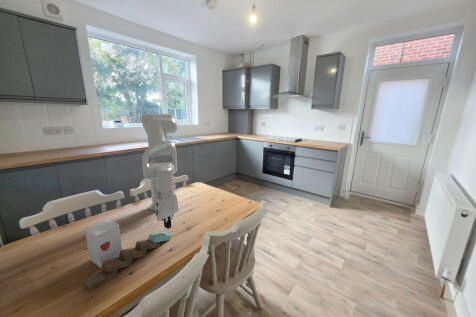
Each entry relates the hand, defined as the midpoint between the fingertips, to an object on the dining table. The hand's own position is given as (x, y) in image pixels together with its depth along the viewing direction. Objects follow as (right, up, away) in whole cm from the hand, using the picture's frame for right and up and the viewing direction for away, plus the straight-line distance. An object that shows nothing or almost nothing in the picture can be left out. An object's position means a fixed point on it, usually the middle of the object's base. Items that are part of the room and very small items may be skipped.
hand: (167, 227), depth 94 cm
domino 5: (0, -4, +1) cm, 5 cm away
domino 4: (-4, -5, -4) cm, 8 cm away
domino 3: (-7, -7, -10) cm, 14 cm away
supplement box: (-21, -8, -13) cm, 26 cm away
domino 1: (-14, -9, -20) cm, 26 cm away
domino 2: (-11, -8, -15) cm, 20 cm away
